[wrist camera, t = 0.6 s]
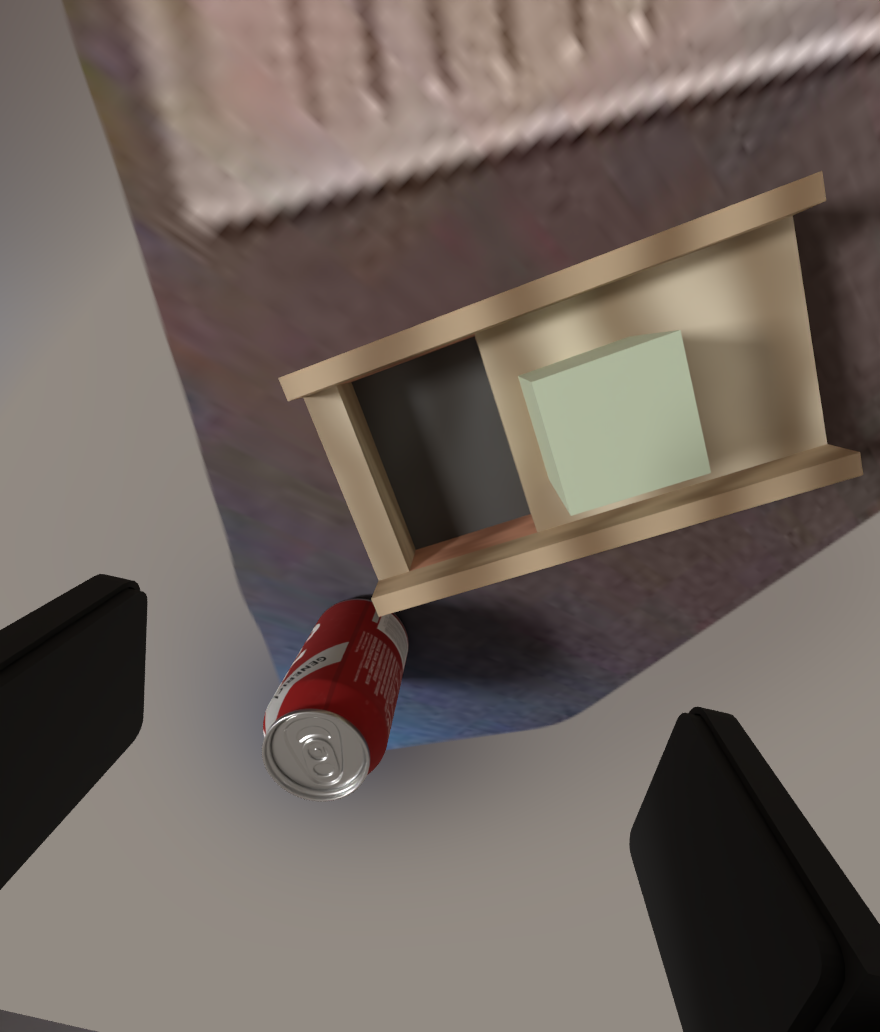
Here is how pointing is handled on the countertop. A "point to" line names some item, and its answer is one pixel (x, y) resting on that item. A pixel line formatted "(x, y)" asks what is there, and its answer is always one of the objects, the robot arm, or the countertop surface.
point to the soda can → (336, 703)
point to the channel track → (555, 337)
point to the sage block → (617, 421)
